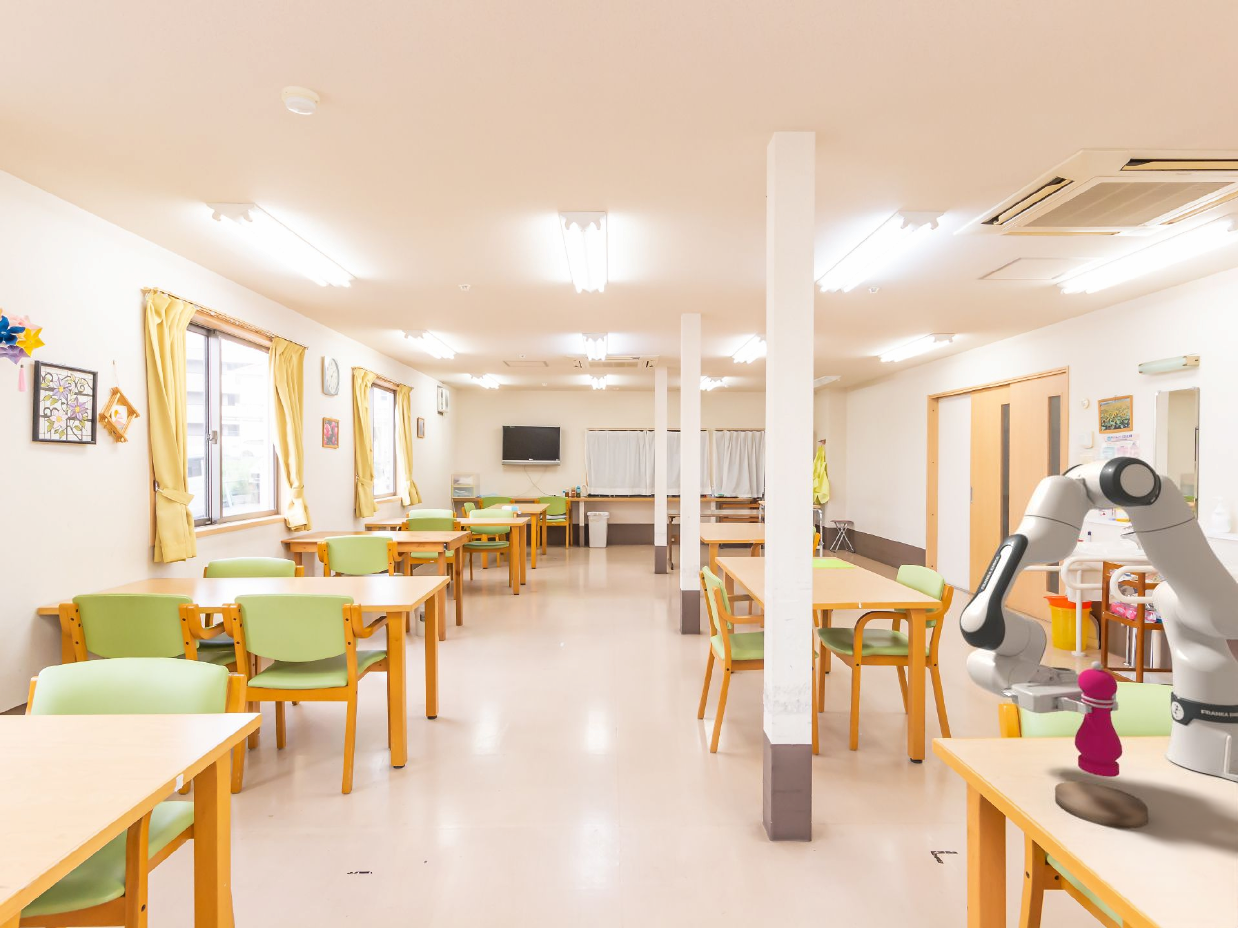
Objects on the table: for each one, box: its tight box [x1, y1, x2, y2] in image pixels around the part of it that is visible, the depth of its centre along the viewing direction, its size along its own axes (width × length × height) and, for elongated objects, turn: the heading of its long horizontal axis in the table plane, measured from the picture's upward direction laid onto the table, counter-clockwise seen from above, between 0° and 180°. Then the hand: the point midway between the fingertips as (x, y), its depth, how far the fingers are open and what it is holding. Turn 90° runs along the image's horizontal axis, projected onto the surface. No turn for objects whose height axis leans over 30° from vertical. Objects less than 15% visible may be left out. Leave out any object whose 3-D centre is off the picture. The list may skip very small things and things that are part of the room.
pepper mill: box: [1074, 660, 1123, 778], centre depth 126 cm, size 7×7×20 cm
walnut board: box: [1054, 780, 1149, 829], centre depth 125 cm, size 14×14×2 cm
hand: (1102, 708), depth 125 cm, fingers closed on pepper mill, 5 cm apart
